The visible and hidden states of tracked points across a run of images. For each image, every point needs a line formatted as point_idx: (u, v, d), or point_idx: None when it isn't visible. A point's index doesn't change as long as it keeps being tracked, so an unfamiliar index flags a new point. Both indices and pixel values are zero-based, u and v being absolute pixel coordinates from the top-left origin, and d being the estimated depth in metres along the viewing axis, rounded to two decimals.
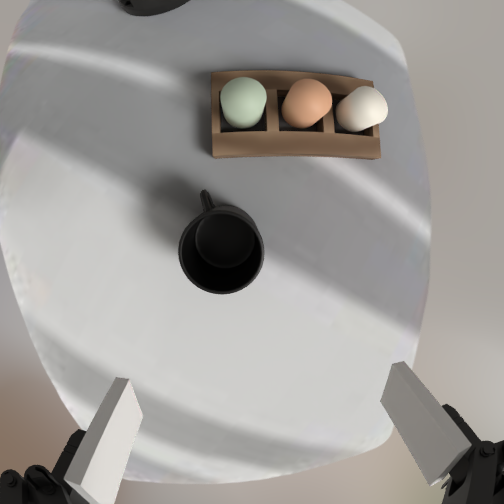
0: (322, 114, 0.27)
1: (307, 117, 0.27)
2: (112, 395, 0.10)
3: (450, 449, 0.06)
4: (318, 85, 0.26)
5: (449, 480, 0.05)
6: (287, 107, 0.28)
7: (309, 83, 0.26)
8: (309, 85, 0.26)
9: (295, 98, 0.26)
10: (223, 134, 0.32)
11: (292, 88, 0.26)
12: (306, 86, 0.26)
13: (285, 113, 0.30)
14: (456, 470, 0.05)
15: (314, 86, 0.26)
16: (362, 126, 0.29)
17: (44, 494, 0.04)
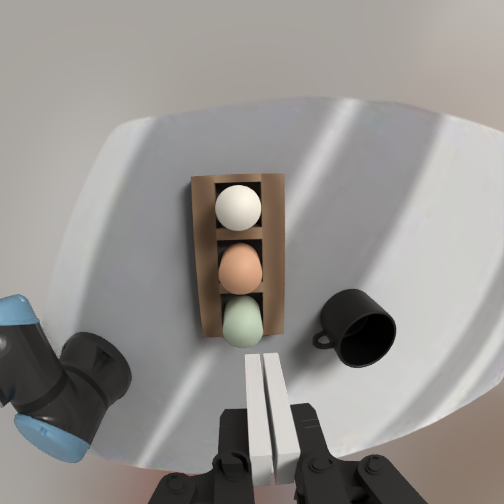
0: (257, 263, 0.31)
1: (261, 277, 0.32)
2: (252, 370, 0.12)
3: (276, 448, 0.08)
4: (225, 266, 0.31)
5: (296, 493, 0.07)
6: None
7: (224, 275, 0.31)
8: (226, 275, 0.31)
9: (242, 289, 0.31)
10: (265, 326, 0.39)
11: (232, 291, 0.31)
12: (228, 278, 0.31)
13: None
14: (297, 484, 0.07)
15: (227, 270, 0.31)
16: None
17: (225, 479, 0.06)
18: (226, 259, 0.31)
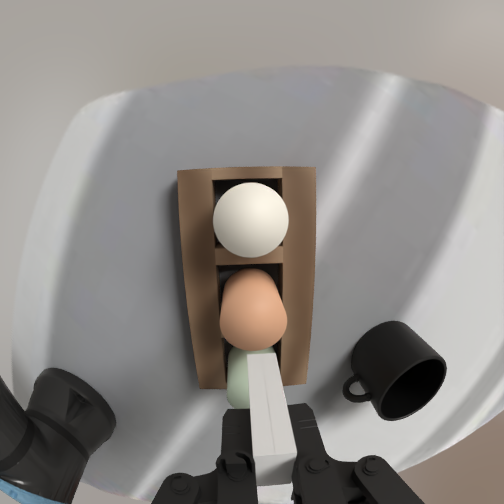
0: (281, 307, 0.19)
1: None
2: (254, 370, 0.12)
3: None
4: (230, 311, 0.19)
5: (293, 494, 0.07)
6: None
7: (228, 324, 0.20)
8: (232, 324, 0.20)
9: (257, 343, 0.20)
10: (282, 376, 0.27)
11: (240, 346, 0.20)
12: (235, 329, 0.20)
13: None
14: (294, 485, 0.07)
15: (232, 317, 0.19)
16: None
17: (228, 479, 0.06)
18: (231, 301, 0.19)
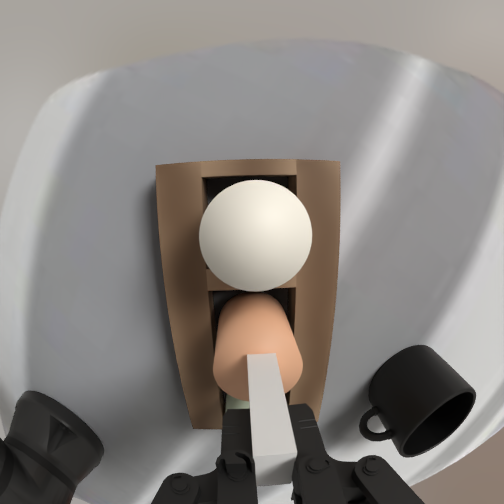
0: (295, 351, 0.14)
1: None
2: (254, 370, 0.12)
3: None
4: (226, 358, 0.14)
5: (293, 494, 0.07)
6: None
7: (224, 373, 0.14)
8: (229, 373, 0.14)
9: None
10: None
11: (241, 397, 0.14)
12: (234, 378, 0.14)
13: None
14: (294, 485, 0.07)
15: (230, 365, 0.14)
16: None
17: (228, 479, 0.06)
18: (228, 346, 0.14)
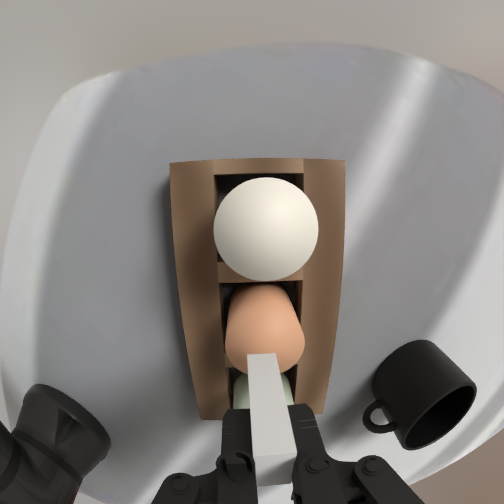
0: (298, 328, 0.16)
1: None
2: (254, 369, 0.12)
3: None
4: (237, 334, 0.16)
5: (293, 494, 0.07)
6: None
7: (235, 348, 0.16)
8: (240, 348, 0.16)
9: None
10: None
11: None
12: (243, 353, 0.16)
13: None
14: (294, 485, 0.07)
15: (240, 340, 0.16)
16: None
17: (228, 479, 0.06)
18: (239, 322, 0.16)
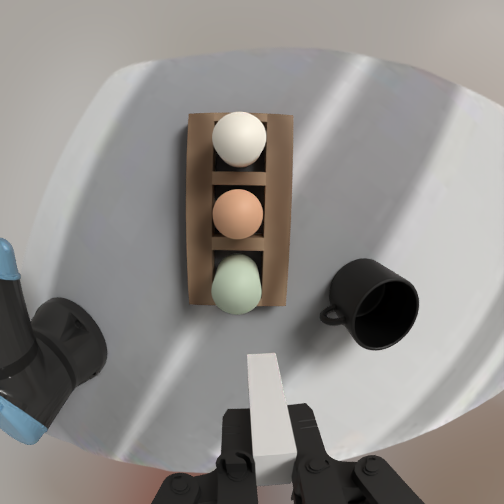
0: (258, 203, 0.27)
1: (261, 219, 0.27)
2: (254, 369, 0.12)
3: None
4: (220, 204, 0.27)
5: (293, 494, 0.07)
6: None
7: (219, 214, 0.27)
8: (221, 214, 0.27)
9: (239, 232, 0.27)
10: (263, 295, 0.33)
11: (226, 234, 0.27)
12: (223, 218, 0.27)
13: None
14: (294, 485, 0.07)
15: (222, 208, 0.27)
16: None
17: (228, 479, 0.06)
18: (222, 196, 0.26)
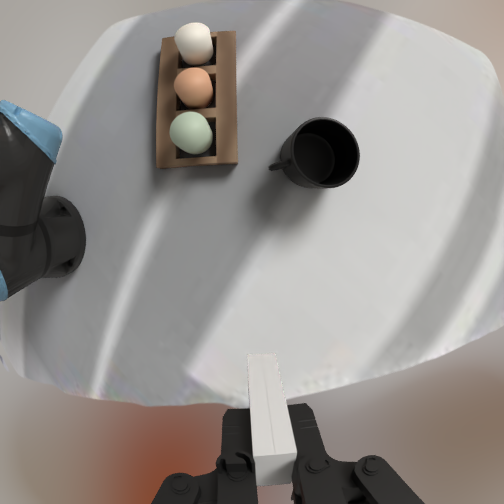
0: (206, 74, 0.30)
1: (209, 85, 0.31)
2: (254, 369, 0.12)
3: None
4: (180, 77, 0.30)
5: (293, 494, 0.07)
6: (198, 101, 0.33)
7: (178, 84, 0.31)
8: (180, 84, 0.31)
9: (193, 93, 0.31)
10: (218, 153, 0.37)
11: (183, 96, 0.31)
12: (181, 86, 0.31)
13: (202, 104, 0.35)
14: (294, 485, 0.07)
15: (181, 80, 0.30)
16: (211, 42, 0.30)
17: (228, 479, 0.06)
18: (181, 72, 0.30)
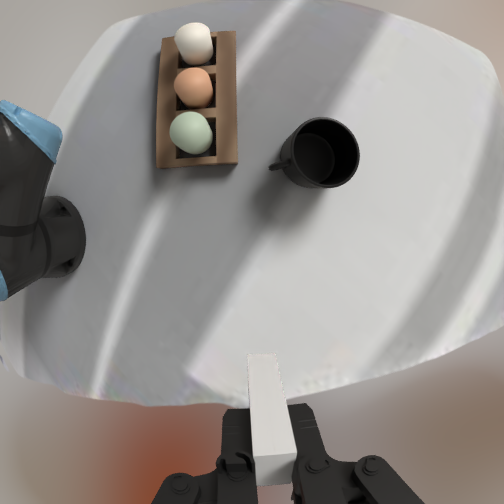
0: (206, 74, 0.30)
1: (209, 84, 0.31)
2: (254, 369, 0.12)
3: None
4: (180, 77, 0.30)
5: (293, 494, 0.07)
6: (198, 101, 0.33)
7: (178, 84, 0.31)
8: (180, 84, 0.31)
9: (193, 93, 0.31)
10: (218, 153, 0.37)
11: (183, 96, 0.31)
12: (181, 86, 0.31)
13: (202, 104, 0.35)
14: (294, 485, 0.07)
15: (181, 80, 0.30)
16: (211, 42, 0.30)
17: (228, 479, 0.06)
18: (181, 72, 0.30)
